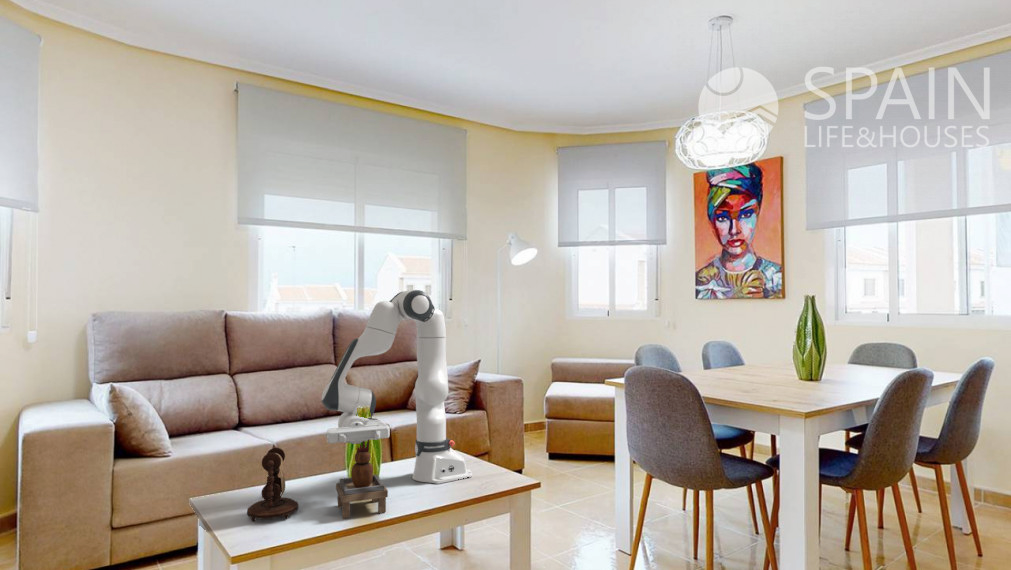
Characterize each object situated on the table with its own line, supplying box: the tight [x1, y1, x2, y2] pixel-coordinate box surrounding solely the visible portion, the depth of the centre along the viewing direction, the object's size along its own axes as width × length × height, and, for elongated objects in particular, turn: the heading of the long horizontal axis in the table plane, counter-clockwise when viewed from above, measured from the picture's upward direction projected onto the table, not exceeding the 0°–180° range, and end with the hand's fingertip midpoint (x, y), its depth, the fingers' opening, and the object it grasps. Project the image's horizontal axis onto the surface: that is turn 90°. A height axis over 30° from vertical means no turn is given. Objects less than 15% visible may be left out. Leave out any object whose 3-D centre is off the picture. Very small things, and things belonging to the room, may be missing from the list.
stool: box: [335, 474, 389, 520], centre depth 184 cm, size 14×14×8 cm
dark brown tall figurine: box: [246, 447, 299, 523], centre depth 179 cm, size 15×15×20 cm
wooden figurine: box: [350, 439, 374, 488], centre depth 184 cm, size 7×6×15 cm
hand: (361, 438), depth 184 cm, fingers open, 8 cm apart
